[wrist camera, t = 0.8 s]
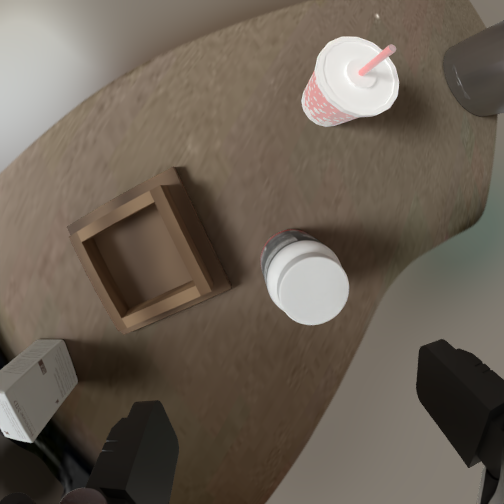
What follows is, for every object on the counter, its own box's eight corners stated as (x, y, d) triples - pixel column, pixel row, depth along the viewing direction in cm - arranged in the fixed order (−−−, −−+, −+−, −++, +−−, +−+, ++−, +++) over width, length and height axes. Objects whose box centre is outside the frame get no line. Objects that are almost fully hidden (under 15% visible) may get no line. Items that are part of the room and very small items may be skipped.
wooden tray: (175, 167, 28) (167, 165, 24) (231, 285, 30) (230, 298, 27) (71, 225, 28) (54, 230, 25) (126, 330, 30) (115, 346, 27)
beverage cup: (325, 148, 28) (397, 120, 14) (279, 99, 27) (315, 33, 13) (368, 109, 27) (453, 67, 14) (324, 62, 26) (383, -10, 12)
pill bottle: (331, 259, 30) (373, 293, 20) (287, 299, 31) (310, 349, 21) (292, 215, 29) (320, 230, 19) (246, 257, 30) (252, 292, 20)
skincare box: (80, 381, 32) (36, 447, 20) (52, 380, 32) (5, 439, 20) (63, 335, 30) (6, 393, 18) (35, 336, 30) (-23, 388, 18)
